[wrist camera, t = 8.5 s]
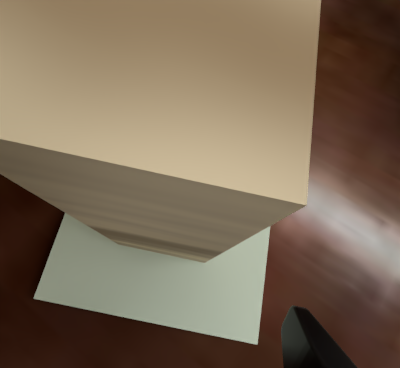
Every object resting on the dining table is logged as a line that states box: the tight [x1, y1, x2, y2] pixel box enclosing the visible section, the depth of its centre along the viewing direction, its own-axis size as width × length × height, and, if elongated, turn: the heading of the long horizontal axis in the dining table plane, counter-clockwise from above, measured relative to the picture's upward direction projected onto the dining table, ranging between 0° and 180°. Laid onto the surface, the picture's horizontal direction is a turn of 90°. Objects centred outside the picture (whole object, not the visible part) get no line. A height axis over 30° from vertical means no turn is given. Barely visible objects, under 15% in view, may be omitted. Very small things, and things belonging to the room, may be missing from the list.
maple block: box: [0, 0, 321, 263], centre depth 10 cm, size 5×5×13 cm
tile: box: [33, 213, 270, 344], centre depth 17 cm, size 12×12×1 cm
